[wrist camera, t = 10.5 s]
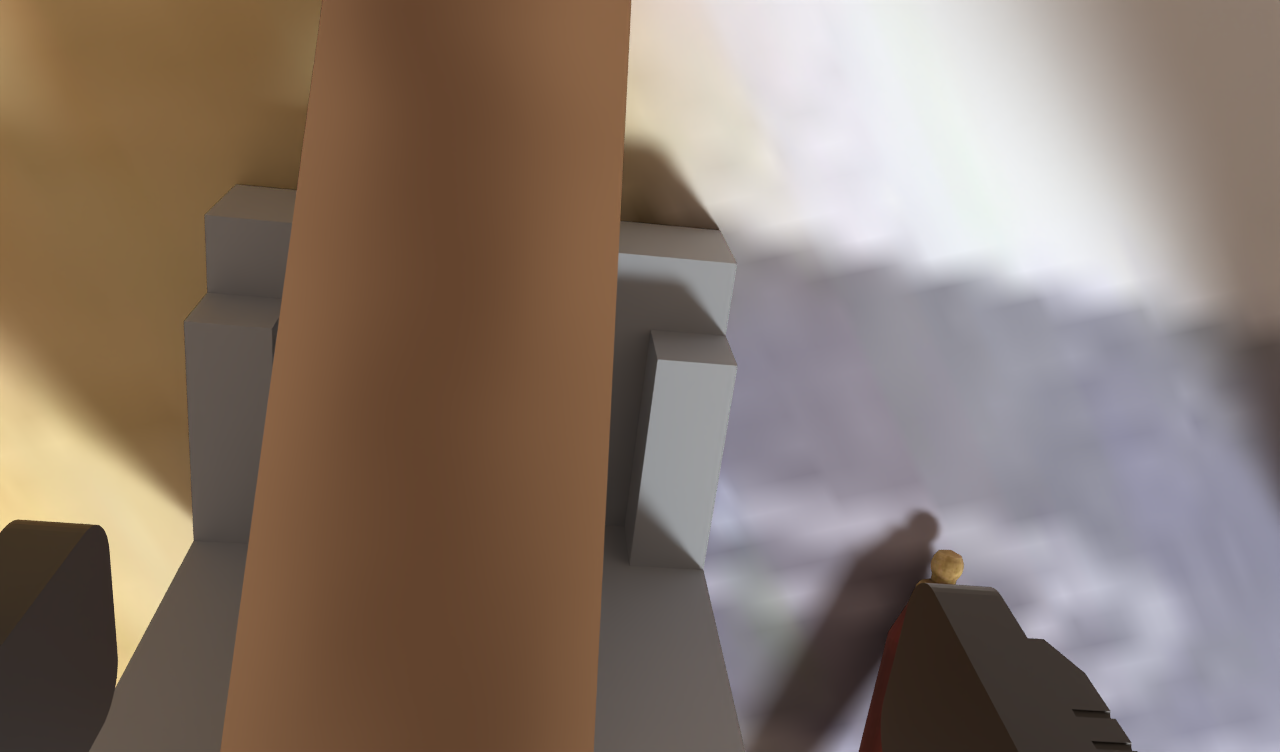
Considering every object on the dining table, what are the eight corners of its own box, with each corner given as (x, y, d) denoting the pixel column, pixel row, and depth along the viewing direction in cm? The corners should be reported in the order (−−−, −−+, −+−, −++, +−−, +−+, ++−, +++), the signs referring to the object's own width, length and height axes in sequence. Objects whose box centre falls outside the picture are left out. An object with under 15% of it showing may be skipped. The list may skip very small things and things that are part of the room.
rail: (612, -72, 28) (643, -250, 23) (564, 772, 23) (591, 799, 17) (385, -101, 27) (362, -292, 22) (279, 762, 22) (215, 787, 17)
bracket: (720, 230, 31) (841, 470, 19) (665, 587, 36) (732, 972, 23) (235, 184, 30) (4, 411, 17) (245, 563, 35) (69, 963, 22)
